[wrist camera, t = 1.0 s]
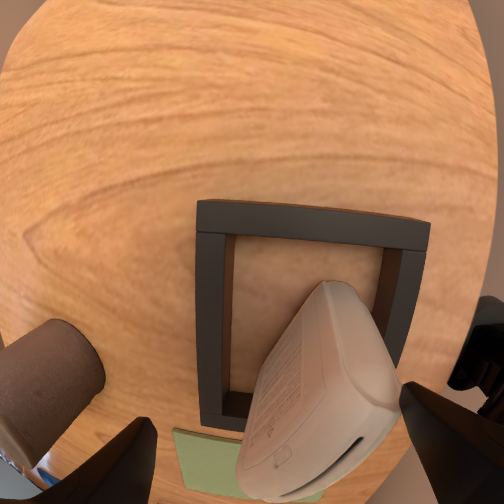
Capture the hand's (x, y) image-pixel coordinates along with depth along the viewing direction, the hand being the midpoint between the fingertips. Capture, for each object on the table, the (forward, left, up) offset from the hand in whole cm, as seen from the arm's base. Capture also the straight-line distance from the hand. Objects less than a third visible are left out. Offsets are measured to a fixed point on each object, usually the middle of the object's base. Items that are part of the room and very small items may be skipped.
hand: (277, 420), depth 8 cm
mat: (0, +23, -12) cm, 26 cm away
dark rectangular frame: (-2, +2, -12) cm, 12 cm away
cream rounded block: (-2, +3, -12) cm, 12 cm away
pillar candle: (+21, +10, -12) cm, 27 cm away
